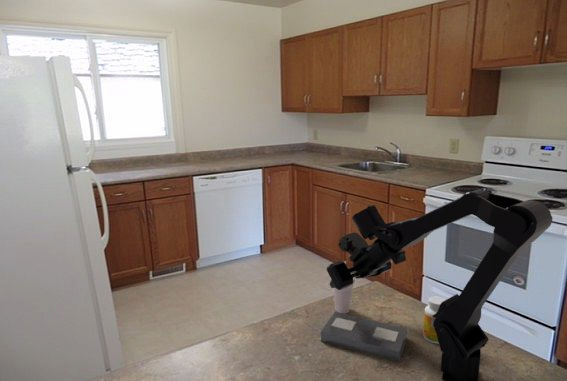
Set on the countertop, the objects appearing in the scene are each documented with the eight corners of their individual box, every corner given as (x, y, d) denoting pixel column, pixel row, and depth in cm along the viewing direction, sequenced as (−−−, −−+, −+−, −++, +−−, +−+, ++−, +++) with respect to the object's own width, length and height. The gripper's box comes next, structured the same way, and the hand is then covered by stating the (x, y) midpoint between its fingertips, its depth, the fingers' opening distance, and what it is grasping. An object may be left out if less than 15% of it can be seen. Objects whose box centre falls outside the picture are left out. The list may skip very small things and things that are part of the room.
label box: (406, 337, 90) (407, 327, 89) (398, 362, 81) (399, 350, 80) (334, 320, 98) (335, 310, 97) (320, 340, 89) (320, 330, 88)
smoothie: (354, 316, 99) (355, 267, 96) (329, 314, 100) (330, 265, 98) (354, 305, 105) (355, 257, 103) (331, 303, 107) (331, 256, 104)
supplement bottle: (422, 329, 93) (425, 293, 91) (446, 333, 91) (449, 296, 89) (423, 342, 88) (425, 303, 86) (448, 346, 86) (451, 307, 84)
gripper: (384, 219, 99) (352, 247, 110) (332, 233, 88) (303, 263, 99) (408, 257, 94) (372, 282, 105) (356, 276, 83) (322, 302, 94)
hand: (343, 281), depth 101 cm, fingers open, 9 cm apart
